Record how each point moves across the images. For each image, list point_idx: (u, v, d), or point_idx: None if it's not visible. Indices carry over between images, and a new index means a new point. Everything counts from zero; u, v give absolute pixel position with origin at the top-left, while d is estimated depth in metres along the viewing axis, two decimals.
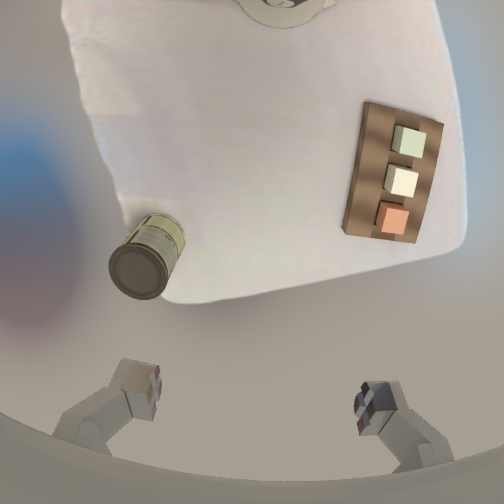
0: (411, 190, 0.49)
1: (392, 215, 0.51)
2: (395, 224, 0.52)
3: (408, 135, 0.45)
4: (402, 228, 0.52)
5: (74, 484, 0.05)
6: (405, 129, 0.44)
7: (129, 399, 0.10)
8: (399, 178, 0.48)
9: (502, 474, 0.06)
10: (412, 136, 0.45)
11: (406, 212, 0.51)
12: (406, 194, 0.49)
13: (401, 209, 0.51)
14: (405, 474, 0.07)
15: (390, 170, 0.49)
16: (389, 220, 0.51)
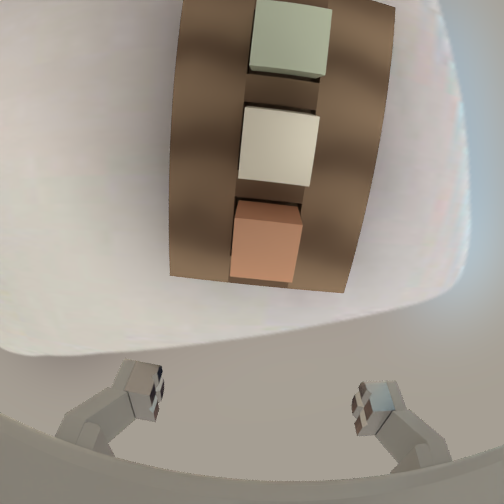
0: (303, 165, 0.19)
1: (253, 236, 0.21)
2: (266, 259, 0.22)
3: (273, 17, 0.15)
4: (288, 268, 0.22)
5: (74, 484, 0.05)
6: (262, 3, 0.14)
7: (132, 400, 0.10)
8: (258, 135, 0.18)
9: (502, 474, 0.06)
10: (287, 18, 0.15)
11: (294, 227, 0.21)
12: (287, 178, 0.19)
13: (281, 219, 0.21)
14: (405, 474, 0.07)
15: None
16: (245, 249, 0.21)
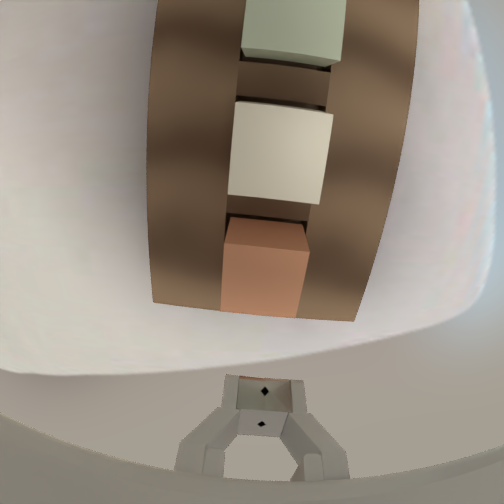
0: (312, 178, 0.15)
1: (247, 266, 0.17)
2: (264, 291, 0.18)
3: None
4: (291, 302, 0.18)
5: (74, 484, 0.05)
6: None
7: (242, 417, 0.10)
8: (253, 138, 0.14)
9: (502, 474, 0.06)
10: None
11: (299, 255, 0.17)
12: (291, 194, 0.15)
13: (282, 244, 0.17)
14: (405, 474, 0.07)
15: None
16: (238, 281, 0.17)
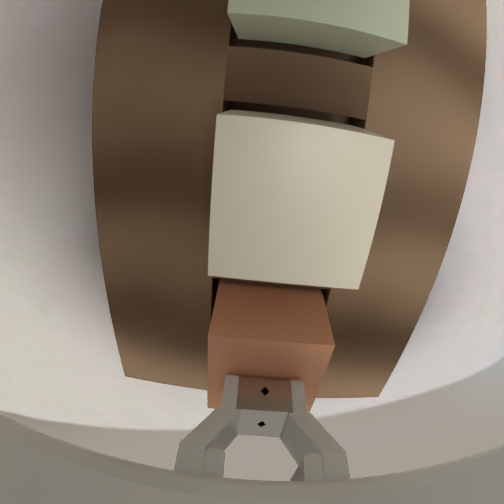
0: (351, 250, 0.09)
1: (243, 362, 0.11)
2: None
3: None
4: None
5: (74, 484, 0.05)
6: None
7: (242, 417, 0.10)
8: (251, 182, 0.08)
9: (502, 474, 0.06)
10: None
11: (319, 349, 0.11)
12: (314, 276, 0.09)
13: (295, 333, 0.11)
14: (405, 474, 0.07)
15: None
16: None
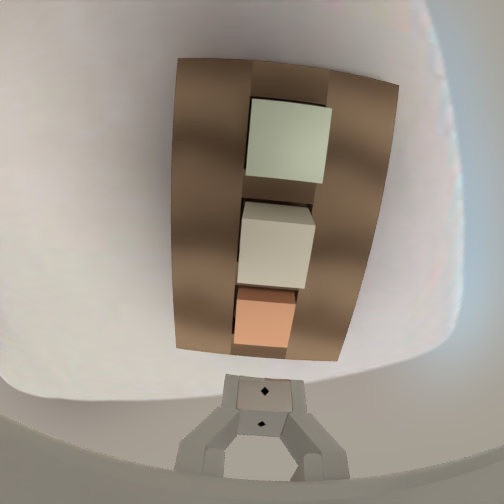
0: (299, 271, 0.20)
1: (253, 313, 0.24)
2: (264, 330, 0.25)
3: (270, 120, 0.16)
4: (283, 337, 0.25)
5: (74, 484, 0.05)
6: (258, 104, 0.16)
7: (242, 417, 0.10)
8: (256, 244, 0.20)
9: (502, 474, 0.06)
10: (284, 122, 0.16)
11: (288, 306, 0.24)
12: (283, 282, 0.21)
13: (277, 299, 0.24)
14: (405, 474, 0.07)
15: None
16: (247, 323, 0.25)
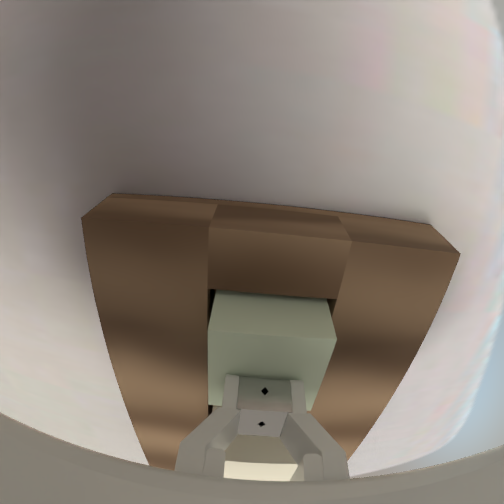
0: None
1: None
2: None
3: (237, 356, 0.11)
4: None
5: (74, 484, 0.05)
6: (217, 337, 0.11)
7: (243, 417, 0.10)
8: (226, 472, 0.13)
9: (502, 474, 0.06)
10: (259, 358, 0.11)
11: None
12: None
13: None
14: (405, 474, 0.07)
15: None
16: None
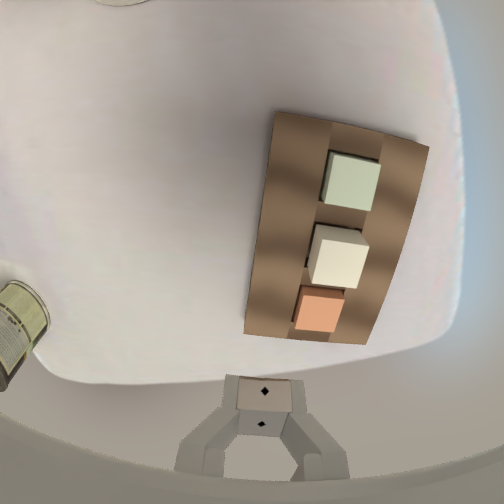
0: (354, 276, 0.28)
1: (313, 306, 0.32)
2: (319, 318, 0.33)
3: (343, 170, 0.26)
4: (332, 324, 0.33)
5: (74, 484, 0.05)
6: (337, 159, 0.26)
7: (242, 417, 0.10)
8: (329, 257, 0.28)
9: (502, 474, 0.06)
10: (351, 171, 0.26)
11: (339, 301, 0.32)
12: (343, 284, 0.29)
13: (331, 295, 0.32)
14: (405, 474, 0.07)
15: (316, 238, 0.29)
16: (307, 313, 0.33)
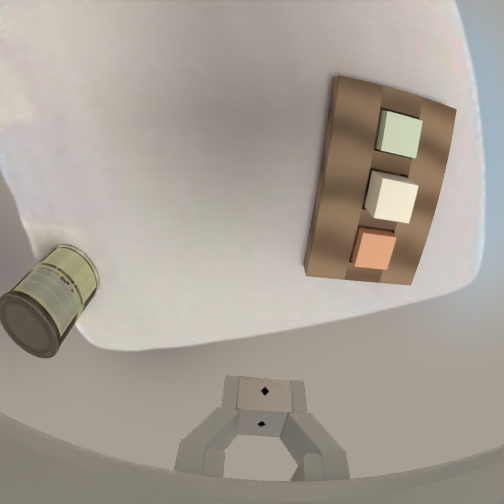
0: (407, 212, 0.32)
1: (371, 243, 0.36)
2: (375, 256, 0.36)
3: (394, 123, 0.29)
4: (386, 261, 0.37)
5: (74, 484, 0.05)
6: (389, 114, 0.29)
7: (242, 417, 0.10)
8: (387, 194, 0.31)
9: (502, 474, 0.06)
10: (401, 125, 0.29)
11: (392, 238, 0.35)
12: (398, 219, 0.32)
13: (385, 234, 0.36)
14: (405, 474, 0.07)
15: (374, 180, 0.32)
16: (366, 251, 0.36)
